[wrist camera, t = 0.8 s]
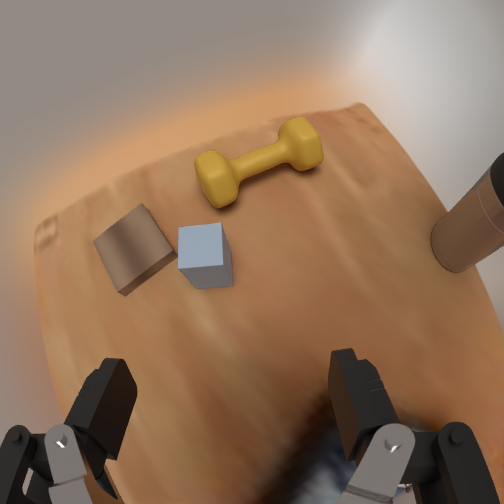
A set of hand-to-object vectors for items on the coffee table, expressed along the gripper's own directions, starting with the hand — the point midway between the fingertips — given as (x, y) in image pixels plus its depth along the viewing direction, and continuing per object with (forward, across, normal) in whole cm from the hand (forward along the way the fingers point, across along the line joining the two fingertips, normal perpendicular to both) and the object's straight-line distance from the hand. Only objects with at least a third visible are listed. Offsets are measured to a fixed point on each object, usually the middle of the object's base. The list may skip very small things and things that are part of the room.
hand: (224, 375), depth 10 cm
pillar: (+28, +5, +9) cm, 30 cm away
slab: (+32, +17, +7) cm, 37 cm away
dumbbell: (+39, -3, -1) cm, 39 cm away
